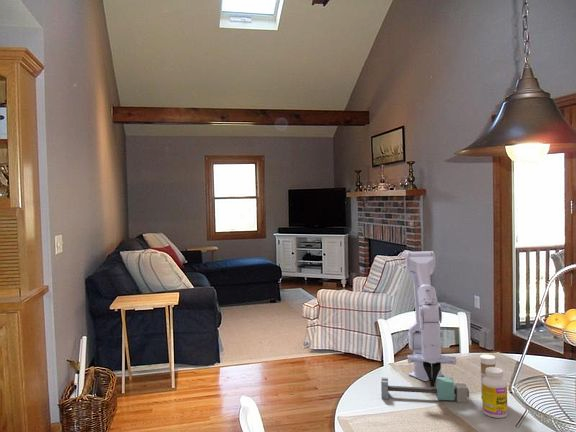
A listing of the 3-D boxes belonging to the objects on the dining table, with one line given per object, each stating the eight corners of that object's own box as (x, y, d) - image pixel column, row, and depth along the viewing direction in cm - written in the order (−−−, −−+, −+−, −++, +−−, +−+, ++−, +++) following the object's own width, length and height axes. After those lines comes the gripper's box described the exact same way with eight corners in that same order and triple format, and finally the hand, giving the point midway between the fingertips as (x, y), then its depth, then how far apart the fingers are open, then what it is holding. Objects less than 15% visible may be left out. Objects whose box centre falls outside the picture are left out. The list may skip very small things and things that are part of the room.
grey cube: (457, 402, 145) (456, 387, 144) (456, 397, 148) (455, 383, 148) (469, 402, 144) (469, 388, 144) (467, 397, 147) (467, 383, 147)
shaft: (386, 391, 151) (386, 386, 150) (386, 389, 152) (386, 385, 152) (462, 395, 145) (462, 390, 145) (462, 393, 147) (461, 388, 147)
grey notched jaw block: (381, 398, 149) (381, 382, 149) (382, 392, 154) (381, 376, 154) (388, 399, 149) (387, 382, 149) (388, 392, 154) (387, 376, 153)
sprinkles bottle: (500, 400, 145) (499, 356, 144) (490, 403, 143) (488, 359, 142) (487, 394, 149) (486, 352, 148) (477, 398, 147) (476, 355, 146)
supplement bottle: (497, 421, 132) (495, 375, 131) (477, 412, 138) (476, 368, 137) (513, 415, 135) (511, 370, 134) (493, 406, 141) (492, 364, 140)
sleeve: (437, 399, 146) (436, 381, 146) (436, 394, 150) (435, 376, 149) (454, 400, 145) (453, 382, 144) (453, 394, 148) (452, 377, 148)
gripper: (407, 346, 145) (408, 389, 146) (456, 347, 142) (458, 392, 142) (407, 339, 152) (408, 380, 153) (454, 340, 149) (455, 383, 149)
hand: (432, 385), depth 148 cm, fingers closed
